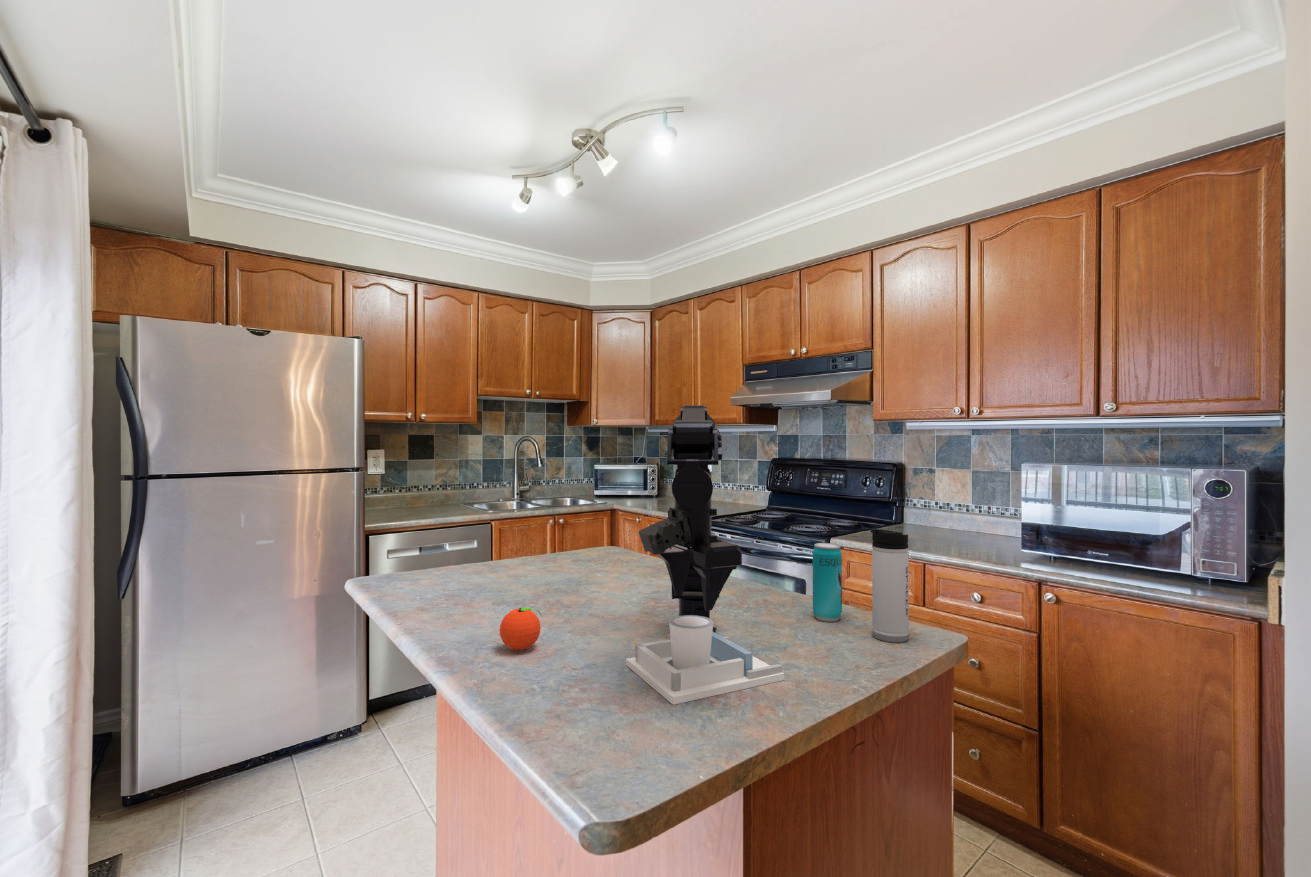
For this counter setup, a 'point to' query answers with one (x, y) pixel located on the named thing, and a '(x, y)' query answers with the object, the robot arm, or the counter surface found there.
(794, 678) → the counter surface
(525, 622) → the clementine
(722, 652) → the gate
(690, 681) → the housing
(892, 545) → the travel mug
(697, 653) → the white cup
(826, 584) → the beverage can
